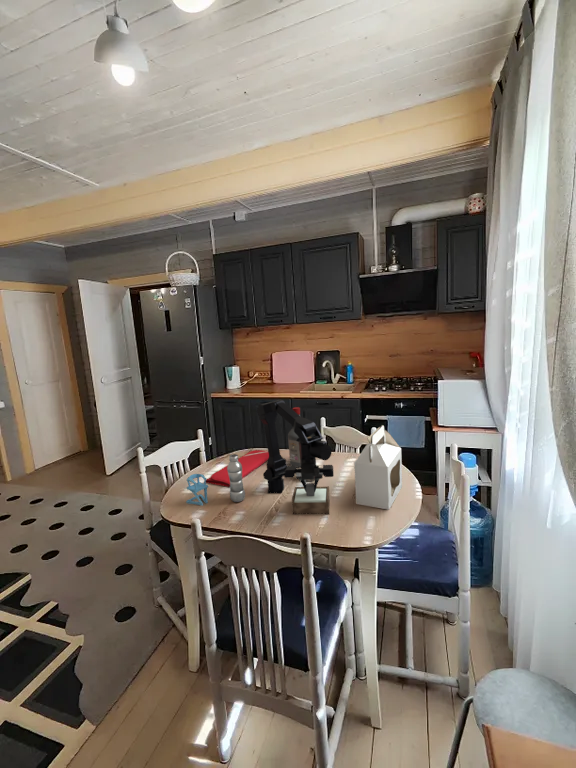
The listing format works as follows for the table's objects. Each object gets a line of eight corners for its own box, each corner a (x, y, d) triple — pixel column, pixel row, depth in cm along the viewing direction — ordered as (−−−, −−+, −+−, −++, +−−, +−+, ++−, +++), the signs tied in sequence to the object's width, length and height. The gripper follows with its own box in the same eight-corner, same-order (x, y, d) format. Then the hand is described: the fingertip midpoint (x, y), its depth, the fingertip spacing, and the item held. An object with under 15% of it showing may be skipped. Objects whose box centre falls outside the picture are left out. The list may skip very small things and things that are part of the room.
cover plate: (294, 502, 146) (293, 490, 145) (297, 490, 155) (296, 479, 155) (325, 502, 144) (325, 490, 143) (326, 490, 154) (325, 479, 153)
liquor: (301, 468, 190) (297, 411, 185) (287, 465, 196) (283, 409, 191) (312, 462, 197) (308, 406, 192) (298, 459, 203) (294, 405, 198)
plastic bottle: (233, 505, 157) (228, 459, 154) (228, 499, 163) (223, 455, 160) (248, 501, 160) (243, 456, 157) (242, 495, 166) (238, 451, 163)
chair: (197, 508, 158) (194, 481, 156) (185, 502, 163) (182, 476, 161) (212, 500, 163) (209, 474, 161) (200, 495, 169) (197, 470, 167)
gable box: (372, 481, 170) (370, 421, 165) (402, 486, 164) (400, 423, 159) (355, 504, 151) (352, 436, 146) (388, 510, 145) (386, 440, 140)
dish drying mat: (204, 483, 183) (203, 476, 182) (251, 454, 218) (251, 448, 217) (230, 488, 175) (230, 481, 175) (275, 457, 210) (274, 451, 210)
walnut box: (292, 514, 147) (291, 499, 146) (295, 500, 157) (294, 486, 156) (329, 514, 145) (328, 499, 144) (329, 500, 156) (328, 486, 155)
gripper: (281, 462, 140) (284, 501, 143) (332, 461, 138) (334, 501, 140) (285, 451, 151) (288, 488, 154) (332, 450, 148) (334, 487, 151)
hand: (310, 491), depth 149 cm, fingers closed on cover plate, 3 cm apart
